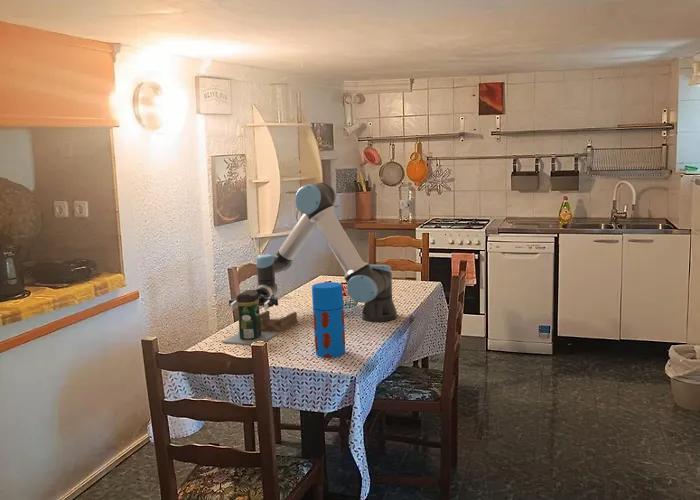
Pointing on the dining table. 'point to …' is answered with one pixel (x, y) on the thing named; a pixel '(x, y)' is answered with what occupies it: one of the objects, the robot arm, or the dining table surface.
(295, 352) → the dining table surface
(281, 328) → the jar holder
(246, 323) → the coffee jar
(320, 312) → the thermos
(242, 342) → the slate mat
